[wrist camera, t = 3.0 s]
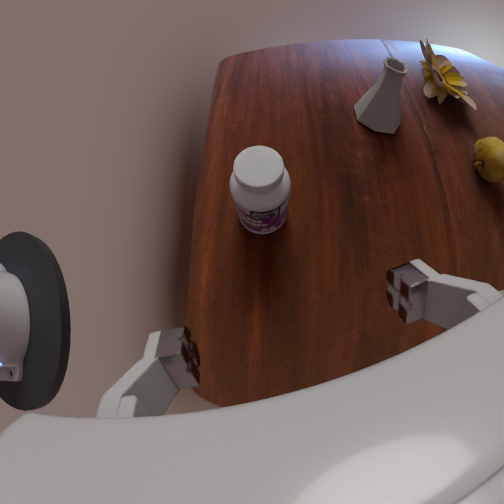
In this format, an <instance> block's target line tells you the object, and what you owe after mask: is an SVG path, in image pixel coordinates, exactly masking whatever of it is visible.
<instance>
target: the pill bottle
mask: <svg viewBox="0 0 504 504" xmlns="http://www.w3.org/2000/svg"><path fill="white" fill-rule="evenodd" d="M233 169H234V171H233V173H232V175H231V178H230V191H231V194H232V198H233V201H234V204H235V207H236V210H237V213H238V217H239V219H240V221H241V223H242V224H243V226H244V227H245V228H247V229H248V230H249V231H251V232H253V233H256V234H268V233H271V232H274V231H276V230H277V229H279V228H280V227H281V226H282V224H283V223H284V222H285V219H286V216H287V211H288V203H289V194H290V177H289V174H288V172H287V170H286V169H285V168H284V164H283V160H282V158H281V156H280V155H279V154H278V153H277V152H276V151H275V150H273V149H271V148H269V147H265V146H253V147H250V148H247V149H245V150H243V151H242V152H241V153H240V154H239V155H238V156H237V157H236V159H235V161H234V166H233Z"/></svg>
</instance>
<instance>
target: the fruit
mask: <svg viewBox="0 0 504 504" xmlns="http://www.w3.org/2000/svg"><path fill="white" fill-rule="evenodd" d="M473 154H474V161H475V164H474V165H473V168H474V169H476V168H477V170H478V173H479V174H480V175H481V177H482V178H483V179H485V180H486V181H488V182H491V183H496V182H499V181H503V180H504V143H503V142H502V141H501V140H500V139H498V138H496V137H486V138H484V139H480V140H478V141H477V142H476V143H475V146H474V149H473Z"/></svg>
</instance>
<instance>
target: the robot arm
mask: <svg viewBox="0 0 504 504" xmlns="http://www.w3.org/2000/svg"><path fill="white" fill-rule="evenodd" d="M386 279H387V280H388V281H389V284H388V286H387V288H386V296H387V300H388V302H389V304H390V306H391V307H392V308H393V309H394V310H398V311H399V316H400V318H401V319H402V320H403V321H404V322H405V323H406V324H409V323H412V322H414V321H417V320H419V319H421V318H423V319H425V320H427V321H430V322H432V323H434V324H436V325H439V326H441V327H443V328H445V329H448V330H447V331H445V332H443V333H442V334H440V335H438V336H436V337H434V338H432V339H430V340H428V341H426V342H424V343H422V344H420V345H418V346H416V347H414V348H412V349H410V350H407V351H405V352H403V353H401V354H398V355H396V356H394V357H392V358H389V359H387V360H384V361H382V362H380V363H377V364H375V365H372V366H370V367H367V368H364V369H362V370H359V371H356V372H354V373H351V374H348V375H345V376H343V377H340V378H337V379H334V380H331V381H328V382H325V383H322V384H318V385H315V386H312V387H309V388H305V389H302V390H298V391H295V392H291V393H287V394H283V395H280V396H276V397H271V398H267V399H263V400H259V401H254V402H249V403H244V404H239V405H234V406H229V407H223V408H217V409H211V410H205V411H197V412H190V413H182V414H172V415H163V414H164V413H165V411H166V410H167V408H168V406H169V405H170V404H171V402H172V400H173V399H174V397H175V396H176V394H177V393H178V391H179V389H184V388H190V387H195V386H199V378H200V373H199V371H198V369H197V368H198V367H199V365H200V355H199V351H198V348H197V345H196V343H195V342H194V341H192V340H190V339H191V333H190V331H189V329H188V328H187V327H186V326H183V327H178V328H173V329H167V330H162V331H157V332H152V333H150V334H149V337H148V340H147V344H146V347H145V351H144V355H143V358H142V360H139V361H138V362H137V363H136V364H135V365H134V366H133V367H132V368H131V369H130V370H129V371H128V372H126V373H125V374H124V375H123V376H122V377H121V378H120V379H119V380H118V381H117V382H116V383H115V384H114V385H113V386H112V387H111V388H110V389H109V390H108V391H107V392H106V393H105V394H104V395H103V396H102V397H101V400H100V404H99V407H98V410H97V413H96V417H95V418H88V417H85V418H84V417H68V416H67V417H66V416H54V415H44V414H37V413H26V414H24V415H22V416H21V417H19V418H18V419H17V420H15V421H14V422H13V423H12V424H11V425H10V426H8V427H7V428H6V429H5V430H4V431H3V432H2V433H1V434H0V504H504V296H503V295H502V294H501V293H500V292H498V291H497V290H496V289H494V288H493V287H492V286H491V285H489V284H487V283H483V282H478V281H474V280H469V279H465V278H460V277H455V276H451V275H446V274H441V275H440V274H438V273H437V272H436V271H434V270H433V269H432V268H431V267H429V266H428V265H427V264H425V263H424V262H423V261H421V260H420V259H415V260H412V261H410V262H407V263H405V264H403V265H400V266H397V267H394V268H392V269H389V270H388V271H387V276H386ZM29 335H30V314H29V306H28V300H27V296H26V293H25V290H24V287H23V285H22V283H21V282H20V280H19V279H18V278H17V277H16V276H15V275H14V274H11V273H9V272H7V271H6V269H5V267H4V266H3V264H1V263H0V381H14V382H21V381H22V378H23V361H24V357H25V354H26V351H27V348H28V343H29Z"/></svg>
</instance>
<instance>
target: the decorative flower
mask: <svg viewBox="0 0 504 504" xmlns="http://www.w3.org/2000/svg"><path fill="white" fill-rule="evenodd" d="M420 45H421V49H422V53H423V55H424V58H425V60H426V62H425V61H423V60H421V61H419V62H421V63H422V64H421V65H422V66H423V68H424V74H423V76H424V81H425V82H426V84H425V86H424V94H425V96H427V97H429V98H432V97H435V96H437V95H438V102H439V104H441V103H442V102H443V100H444V99H445V97H446V96H447V94H450V95H452V96H453V97H455V98H456V99H457V100H459V101H460V102H462V103H464V104H465V105H467V106H469V107H471V108H473V109H475V110H476V104H475V103H474V101H473V100H472V99H471V98H469V97H468V96H467V95H468V93H467V92H466V90H465V89H464V88H462V87H461V86H468V85H467V82H466V81H465V80H464V78H462V77H461V76H460V74H459V72H458V70H457V69H456V68H454V67H453V66H452V65H451V62H450V61H449V60H448V59H447V58H446V57H445V56H442V55H436V56H435V54H434V52H433V51H432V49H431V46H430V44H429V43H428V40H427V39H426V48H425V46H424V44H423V42H422V41H421V40H420ZM452 87H453V88H452ZM454 88H455V89H454ZM456 89H457V90H456ZM458 90H459V91H458ZM460 91H461V92H460ZM462 92H464V93H465V94H467V95H465V94H463V93H462Z"/></svg>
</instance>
